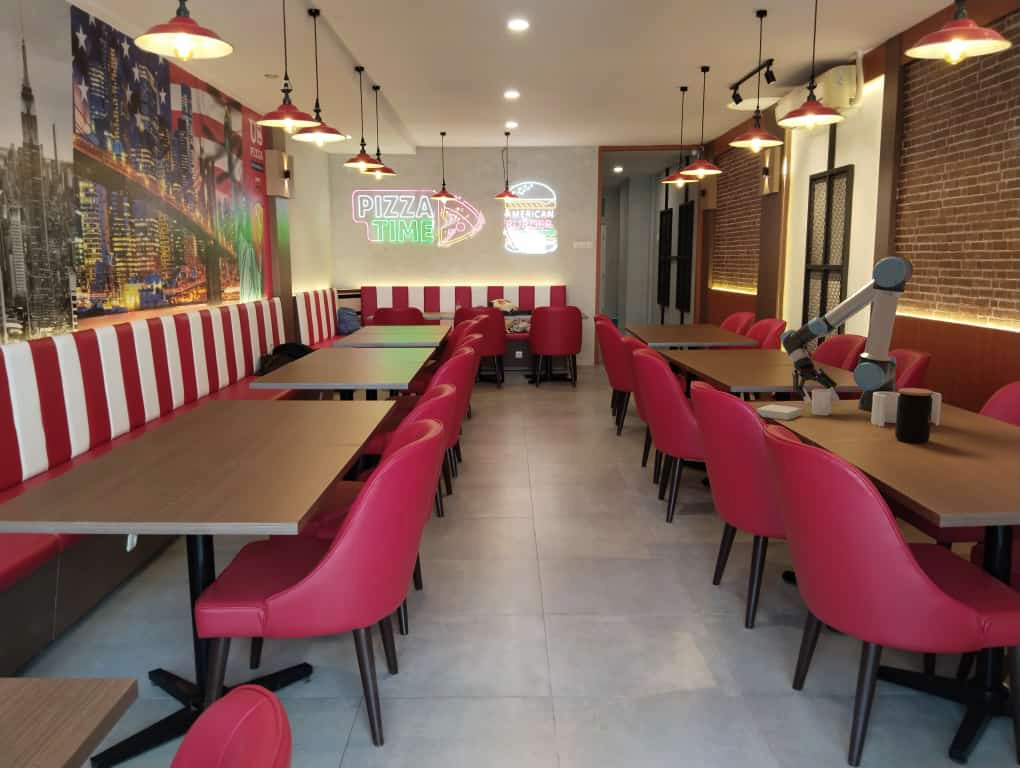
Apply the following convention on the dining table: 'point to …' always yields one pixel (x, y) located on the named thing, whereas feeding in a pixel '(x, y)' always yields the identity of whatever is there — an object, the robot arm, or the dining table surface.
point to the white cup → (821, 401)
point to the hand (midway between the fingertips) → (823, 402)
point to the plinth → (779, 412)
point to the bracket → (887, 407)
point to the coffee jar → (913, 415)
